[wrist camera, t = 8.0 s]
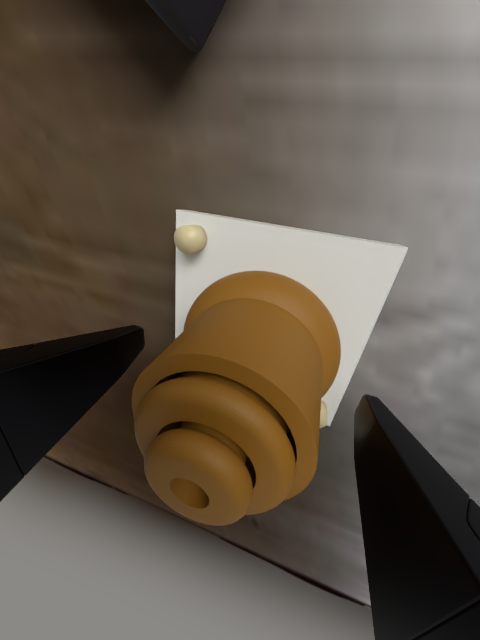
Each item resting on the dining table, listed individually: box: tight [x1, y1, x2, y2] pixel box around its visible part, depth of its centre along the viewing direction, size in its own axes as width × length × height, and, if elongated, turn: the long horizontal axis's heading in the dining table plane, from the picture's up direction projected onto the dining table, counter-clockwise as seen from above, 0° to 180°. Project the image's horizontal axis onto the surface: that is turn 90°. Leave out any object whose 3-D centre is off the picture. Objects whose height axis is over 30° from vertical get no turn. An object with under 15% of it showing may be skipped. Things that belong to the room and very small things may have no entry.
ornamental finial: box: [131, 271, 341, 526], centre depth 9 cm, size 8×8×8 cm
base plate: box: [174, 210, 408, 428], centre depth 12 cm, size 10×10×2 cm
